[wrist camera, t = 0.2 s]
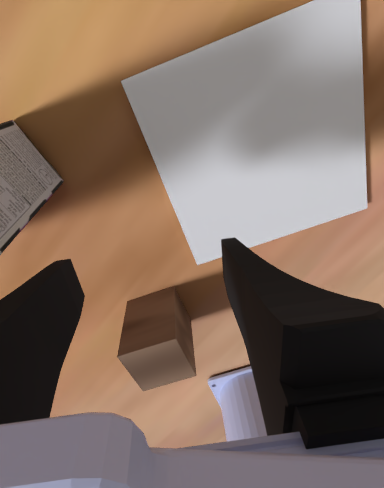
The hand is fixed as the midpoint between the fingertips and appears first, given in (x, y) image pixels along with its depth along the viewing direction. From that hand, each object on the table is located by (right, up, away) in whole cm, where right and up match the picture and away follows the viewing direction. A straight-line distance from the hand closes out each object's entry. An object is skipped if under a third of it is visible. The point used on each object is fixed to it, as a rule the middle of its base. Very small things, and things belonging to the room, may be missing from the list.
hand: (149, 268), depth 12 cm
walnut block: (-1, -5, +14) cm, 15 cm away
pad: (+7, +8, +8) cm, 12 cm away
